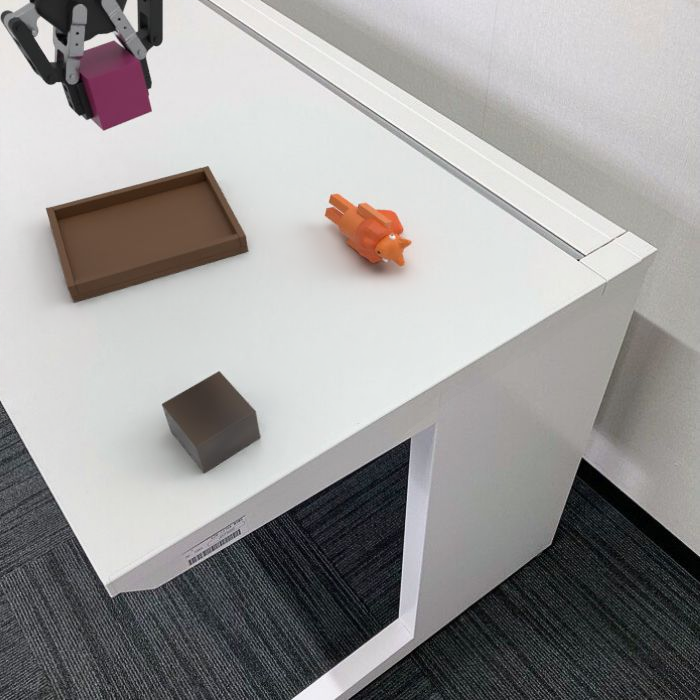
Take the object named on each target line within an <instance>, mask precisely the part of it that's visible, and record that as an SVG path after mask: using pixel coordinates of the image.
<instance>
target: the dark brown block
mask: <svg viewBox="0 0 700 700" xmlns="http://www.w3.org/2000/svg"><path fill="white" fill-rule="evenodd" d="M161 407H162V410H163V412H164V416H165V418H166V422H167V425H168V427H169V430H170V432H171V434H173V436H174V437H175V438H176V439H177V441H178V442H179V444H180V445H181V446H182V447H183V448H184V449H185V451H186V452H187V453H188V455H189V456H190V457H191V459H192V460H193V461H194V462H195V463H196V465H197V466H198V467H199V469H200V470H201V471H202V473H204V474H206V473H207V472H209V471H210V470H212V469H213V468H215V467H217V466H218V465H220V464H221V463H223V462H225V461H227V460H228V459H230V458H231V457H232V456H234V455H236V454H238V453H239V452H240V451H242V450H244V449H245V448H247V447H248V446H250V445H252V444H253V443H255V442H256V441H258V440H259V439H261V438H262V437H261V433H260V432H261V431H260V426H259V421H258V416H257V411H256V410H255V408H254V407H253V406H252V405H251V404H250V403H249V402H248V401H247V400H246V399H245V398H244V396H243V395H242V394H241V393H240V391H238V390H237V389H236V388H235V386H233V385H232V383H231V382H230V381H229V380H228V379H227V378H226V377H225V375H224V374H223V373H222V372H221V371H220V370H219V371H217V372H215V373H213V374H212V375H210V376H208V377H206V378H205V379H203V380H201V381H199V382H197V383H196V384H194V385H192V386H190V387H189V388H187V389H185V390H184V391H181V392H180V393H178V394H176V395H175V396H173V397H171V398H170V399H168V400H165V402H162V403H161Z"/></svg>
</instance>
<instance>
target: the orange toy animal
mask: <svg viewBox="0 0 700 700" xmlns="http://www.w3.org/2000/svg"><path fill="white" fill-rule="evenodd" d="M328 203H329V204H330V205H331V207H326V209H325V213H324V217H326V219H328V220H330V222H332V223H333V224H335V225H336V226H337V227H338V229H339V232H340V233H341V234H342V235H344V236H345V237H346V238H348V239H347V242H346V244H347V245H348V246H349V247H351V248H352V249H353V250H354V251H356V252H357V253H358V255H360V256H362V257H363V258H364V259H366V260H368V261H369V262H370V263H371V264H375V263H380V261H381V260H382V261H383V263H388V262H389V261H393V262H394V263H395V264H396V265H397V266H399V267H404V266H405V264H406V260H405V257H404V251H405V249H406V248H408V247H409V246H410V245H412V240H411V239H407V238H403V237H402V236H400V235H402V234H403V233H404V227H403V224H402V223H401V221H400V218H399V217H398V215H397V213H396V212H395V211H393V210H391V209H375V207H373V206H371V205H370V204H368V203H367V202H363V203H358V206H356V205H354V204H353V203H352V202H350V201H349V200H348V199H346V198H345V197H343V196H342V195H341V194H339V193H331V194H330V195H329V200H328Z"/></svg>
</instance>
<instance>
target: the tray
mask: <svg viewBox="0 0 700 700" xmlns="http://www.w3.org/2000/svg"><path fill="white" fill-rule="evenodd" d="M45 210H46V214H47V217H48V221H49V224H50V229H51V233H52V236H53V240H54V243H55V247H56V250H57V254H58V257H59V258H58V259H59V261H60V266H61V268H62V272H63V276H64V280H65V283H66V287H67V290H68V292H69V294H70V297H71V300H72V302H73V303H74V304H75V303H77V302H82V301H85V300H88V299H92V298H95V297H98V296H101V295H104V294H108V293H111V292H115V291H118V290H122V289H125V288H128V287H132V286H135V285H136V286H137V285H139V284H142V283H146V282H149V281H153V280H155V279H158V278H162V277H166V276H169V275H173V274H176V273H179V272H183V271H186V270H189V269H194V268H196V267H199V266H203V265H207V264H210V263H214V262H217V261H220V260H224V259H227V258H230V257H233V256H234V257H235V256H237V255H241V254H243V253H247V252H249V245H248V240H247V236H246V234H245V231H244V229H243V228H242V226H241V224H240V222H239V220H238V219H237V216H236V215H235V213H234V211H233V210H232V207H231V206H230V203H229V201H228V200H227V198H226V196H225V194H224V192H223V190H222V188H221V187H220V185H219V183H218V181H217V179H216V177H215V176H214V173H213V171H212V170H211V168H210V166H209V165H206V166H203V167H198V168H195V169H191V170H186V171H183V172H180V173H175V174H172V175H168V176H164V177H160V178H157V179H153V180H152V179H151V180H149V181H145V182H141V183H138V184H134V185H130V186H125V187H122V188H118V189H114V190H110V191H106V192H102V193H99V194H95V195H92V196H88V197H84V198H81V199H76V200H73V201H67V202H65V203H61V204H57V205H54V206H50V207H46V208H45Z"/></svg>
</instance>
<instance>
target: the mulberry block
mask: <svg viewBox="0 0 700 700" xmlns="http://www.w3.org/2000/svg"><path fill="white" fill-rule="evenodd" d="M80 79H81V80H82V81H83V83H84V86H85V89H86V92H87V96H88V99H89V102H90V105H91V109H92V112H93V115H94V118H91V119H90V120H91V121H92V122H93V123H95V125H97V126H98V127H99V128H100V129H101V130H102V131H103V132H104V131H107V130H110V129H112V128H114V127H117V126H119V125H122V124H124V123H126V122H129V121H132V120H134V119H137V118H139V117H142V116H144V115H146V114H150V113H152V112H153V109H152V105H151V100H150V95H149V96H148V92H149V91H148V92H147V88H146V84H145V80H144V76H143V71H142V67H141V63H140V61H139V60H138V59H137V58H136V57H134V56H133V55H132V54H131V53H129V52H128V51H127V50H126V49H124V48H123V46H122V45H121V44H120V43H118V42H117V41H116V40H114V39H113V40H111V41H107V42H104V43H102V44H99V45H96V46H93V47H90V48H88V49H84V53H83V57H82V58H81V60H80Z"/></svg>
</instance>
